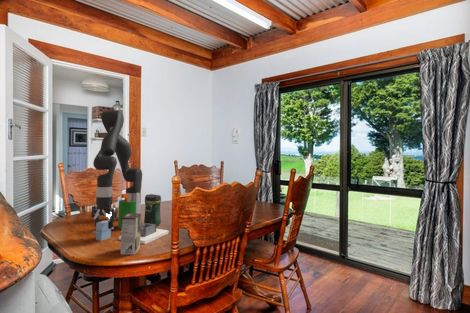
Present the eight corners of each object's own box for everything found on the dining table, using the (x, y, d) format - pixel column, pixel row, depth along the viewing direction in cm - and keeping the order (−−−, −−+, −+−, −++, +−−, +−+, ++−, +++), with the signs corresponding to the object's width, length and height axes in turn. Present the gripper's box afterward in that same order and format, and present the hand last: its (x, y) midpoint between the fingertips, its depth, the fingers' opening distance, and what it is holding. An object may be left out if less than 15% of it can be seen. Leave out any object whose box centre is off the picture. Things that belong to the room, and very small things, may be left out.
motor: (138, 226, 162) (139, 193, 162) (128, 230, 154) (129, 195, 153) (124, 224, 165) (125, 191, 165) (113, 228, 157) (114, 193, 157)
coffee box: (126, 247, 127) (127, 212, 127) (140, 247, 127) (141, 213, 127) (119, 254, 118) (120, 217, 118) (135, 254, 118) (136, 217, 118)
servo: (108, 235, 144) (108, 219, 144) (113, 236, 142) (114, 220, 142) (92, 241, 134) (93, 223, 134) (98, 242, 133) (98, 224, 133)
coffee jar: (162, 224, 169) (163, 194, 169) (153, 227, 162) (154, 196, 162) (151, 222, 173) (151, 192, 173) (141, 224, 166) (142, 194, 166)
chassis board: (144, 229, 156) (144, 220, 156) (168, 233, 151) (168, 223, 151) (118, 239, 137) (119, 228, 137) (145, 244, 132) (145, 232, 132)
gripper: (121, 195, 139) (120, 227, 139) (99, 193, 144) (98, 224, 144) (109, 197, 132) (108, 231, 132) (87, 195, 137) (86, 227, 137)
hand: (103, 227), depth 138 cm, fingers open, 8 cm apart
